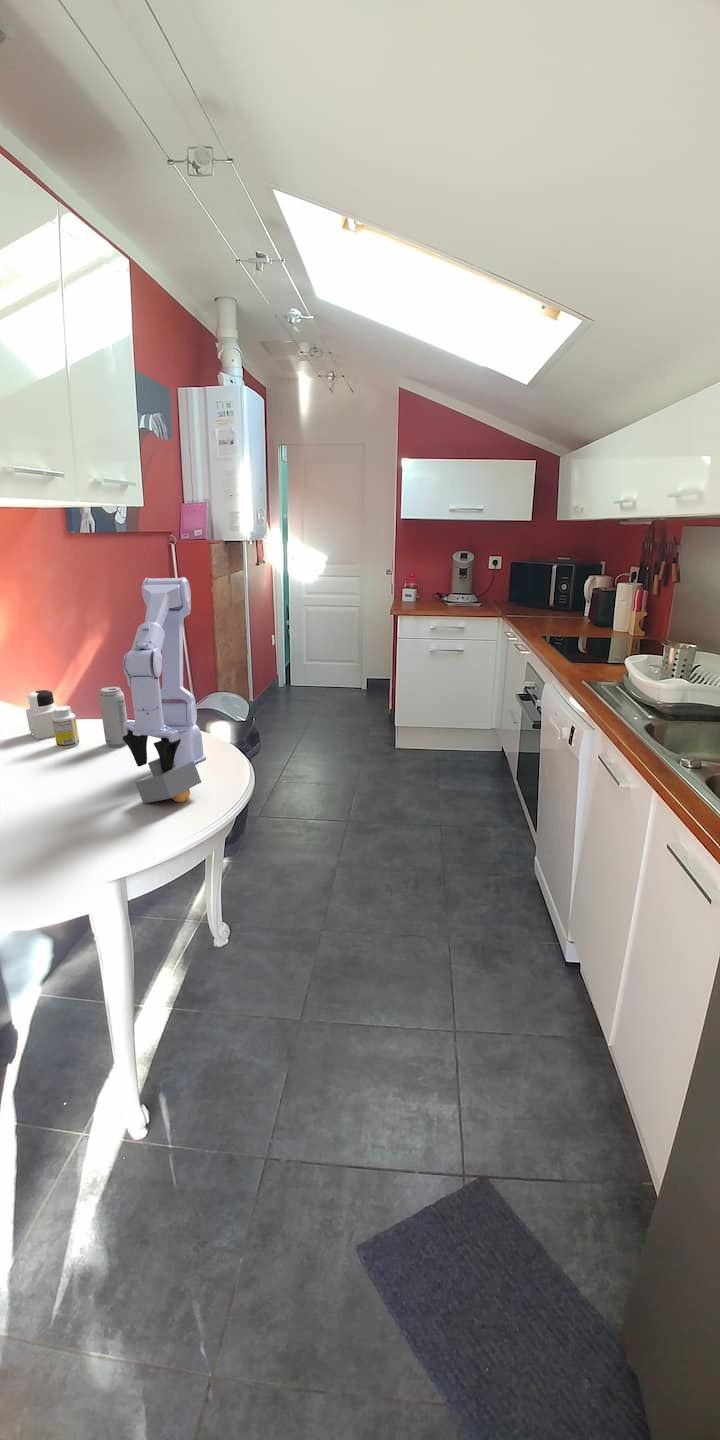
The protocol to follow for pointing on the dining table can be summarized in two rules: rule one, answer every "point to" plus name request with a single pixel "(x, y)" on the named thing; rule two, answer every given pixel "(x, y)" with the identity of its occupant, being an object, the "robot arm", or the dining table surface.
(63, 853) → the dining table surface
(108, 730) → the energy drink can
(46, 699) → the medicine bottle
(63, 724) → the supplement bottle
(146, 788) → the grey stepped block
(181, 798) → the ball
